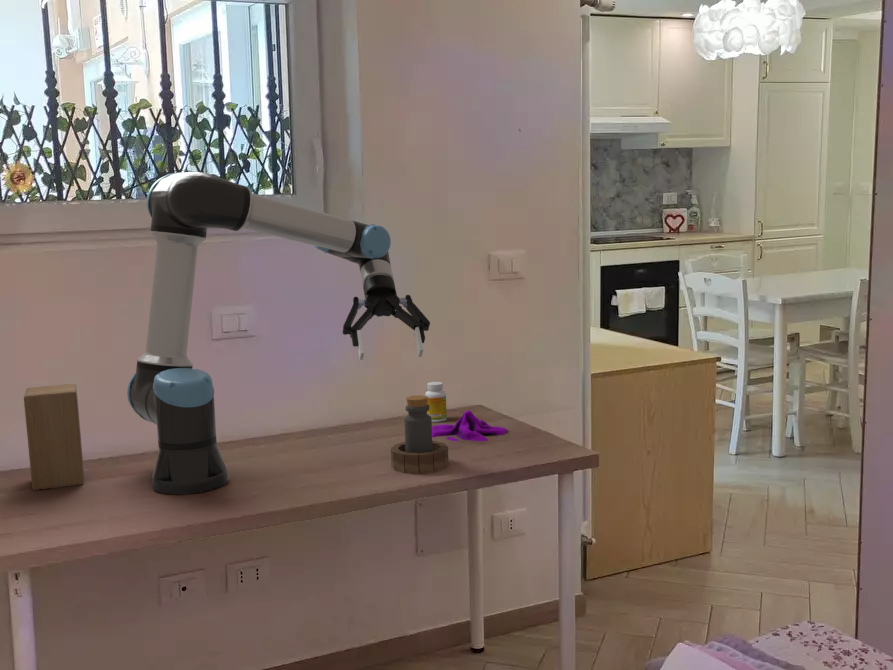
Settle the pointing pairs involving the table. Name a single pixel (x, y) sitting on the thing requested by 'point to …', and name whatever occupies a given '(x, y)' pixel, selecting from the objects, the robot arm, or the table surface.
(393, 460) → the bead ring
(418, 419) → the bottle
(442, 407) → the supplement bottle
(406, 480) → the table surface
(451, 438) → the cloth
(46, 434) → the wooden block
